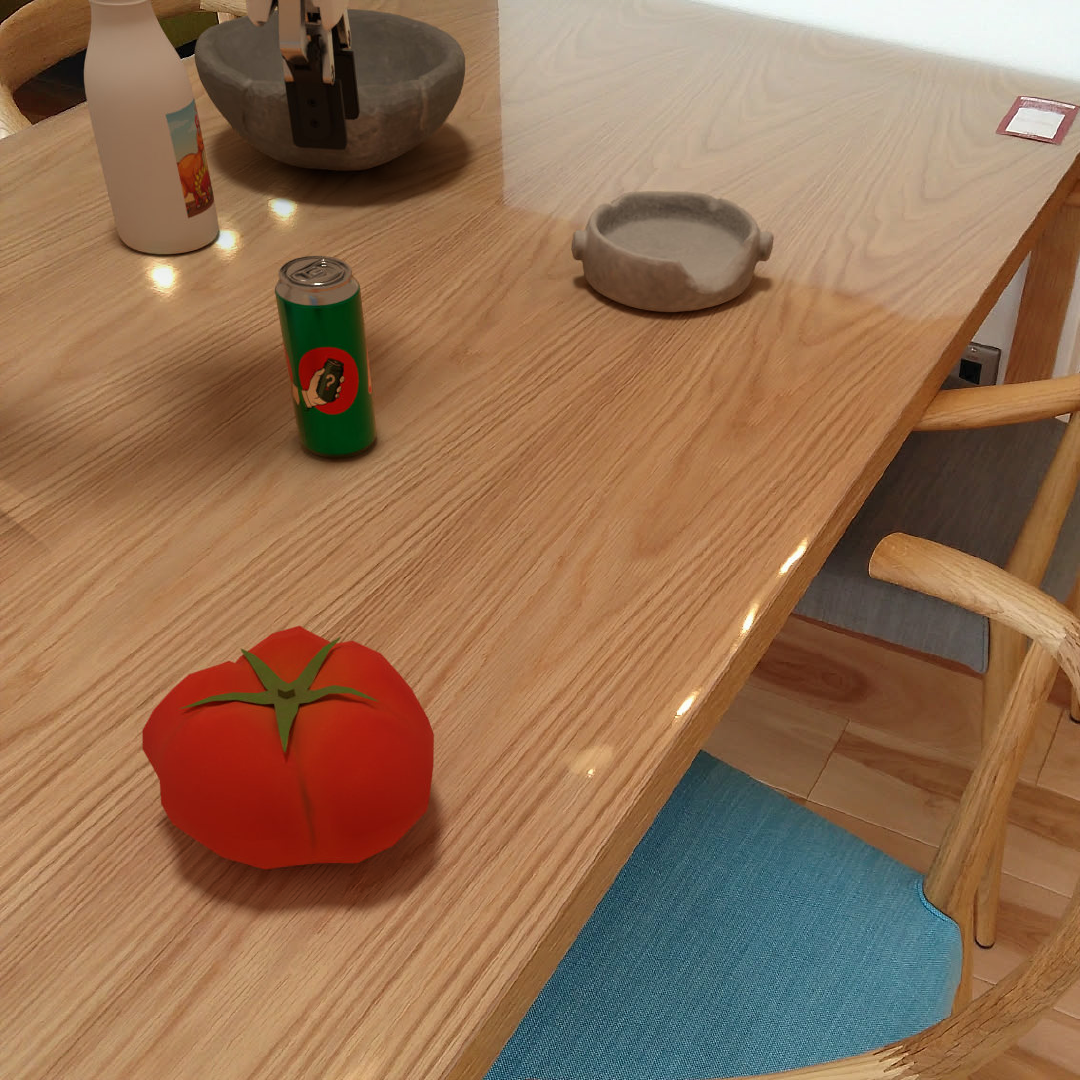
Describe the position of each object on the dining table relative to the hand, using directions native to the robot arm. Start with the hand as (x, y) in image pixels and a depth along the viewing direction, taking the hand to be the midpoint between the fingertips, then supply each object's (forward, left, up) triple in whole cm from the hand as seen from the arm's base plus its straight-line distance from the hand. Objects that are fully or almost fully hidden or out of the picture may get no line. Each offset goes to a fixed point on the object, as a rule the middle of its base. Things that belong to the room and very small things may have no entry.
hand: (327, 128), depth 86 cm
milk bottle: (-18, +20, -18) cm, 32 cm away
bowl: (-7, +38, -18) cm, 43 cm away
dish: (+22, +18, -18) cm, 33 cm away
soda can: (0, -8, -18) cm, 19 cm away
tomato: (+4, -42, -18) cm, 45 cm away
